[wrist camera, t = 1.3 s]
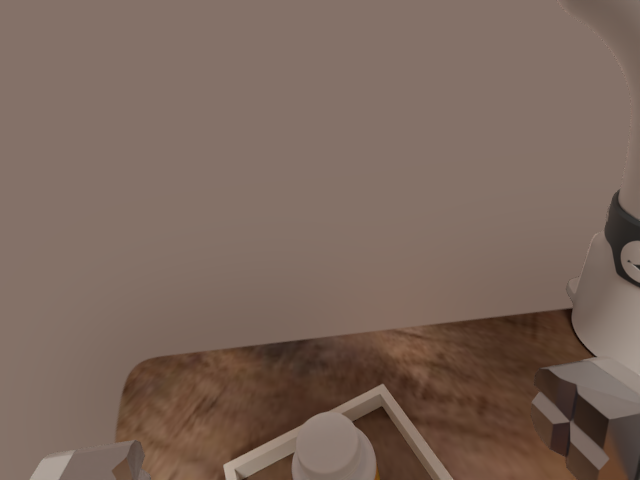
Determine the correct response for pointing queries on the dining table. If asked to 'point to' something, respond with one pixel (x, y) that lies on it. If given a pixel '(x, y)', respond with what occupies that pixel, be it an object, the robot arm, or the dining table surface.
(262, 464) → the white square frame
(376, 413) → the dining table surface
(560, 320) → the dining table surface
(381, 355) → the dining table surface
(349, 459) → the supplement bottle
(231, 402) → the dining table surface
